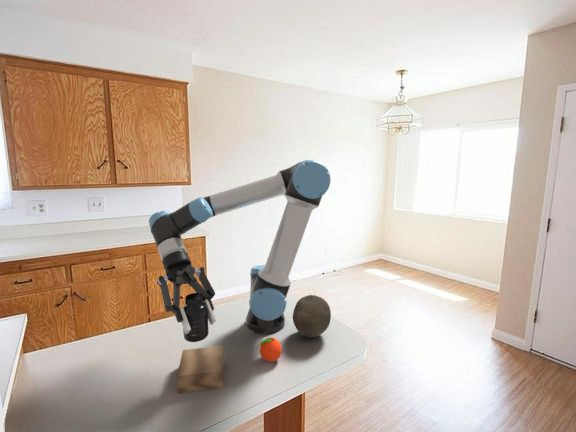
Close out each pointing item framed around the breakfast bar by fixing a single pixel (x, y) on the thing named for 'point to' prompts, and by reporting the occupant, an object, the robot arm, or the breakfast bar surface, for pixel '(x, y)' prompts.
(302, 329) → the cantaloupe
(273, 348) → the clementine
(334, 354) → the breakfast bar surface
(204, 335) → the supplement bottle
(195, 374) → the walnut block
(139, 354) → the breakfast bar surface
